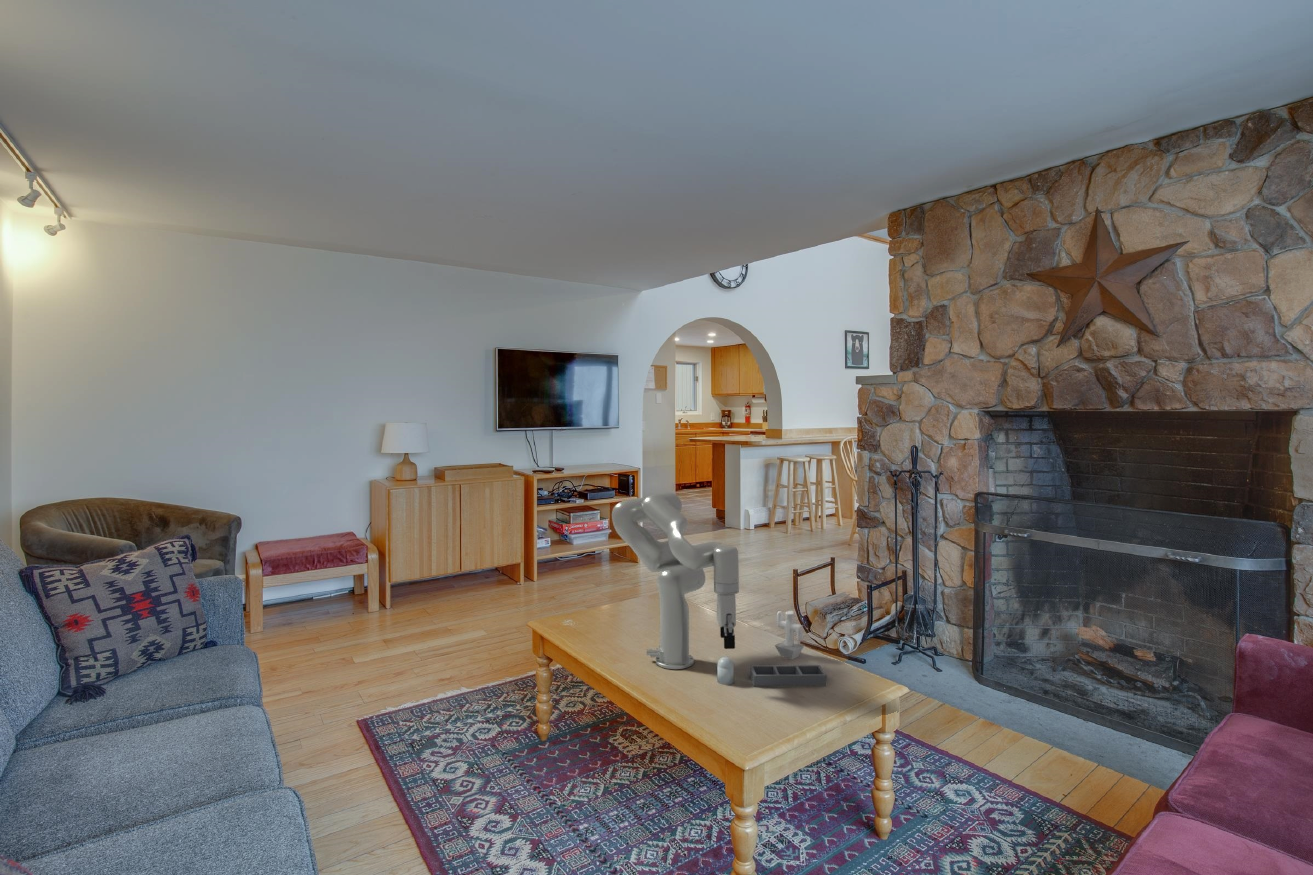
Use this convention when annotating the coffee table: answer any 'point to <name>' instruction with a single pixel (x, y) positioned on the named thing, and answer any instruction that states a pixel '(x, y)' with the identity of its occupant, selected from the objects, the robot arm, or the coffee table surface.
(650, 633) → the coffee table surface
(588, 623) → the coffee table surface
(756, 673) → the grey compartment tray
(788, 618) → the figurine
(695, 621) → the coffee table surface
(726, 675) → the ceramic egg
